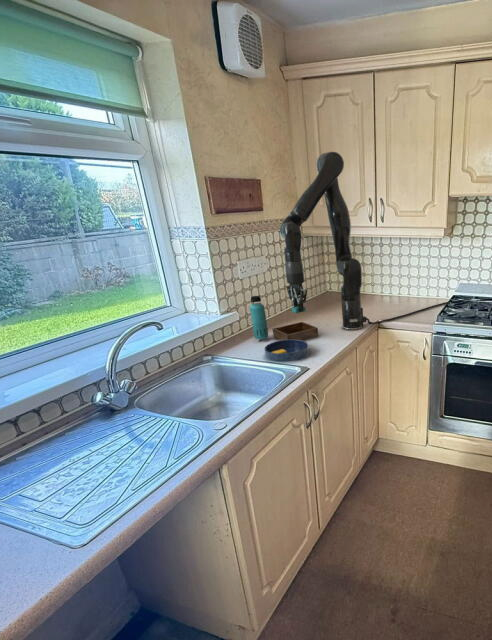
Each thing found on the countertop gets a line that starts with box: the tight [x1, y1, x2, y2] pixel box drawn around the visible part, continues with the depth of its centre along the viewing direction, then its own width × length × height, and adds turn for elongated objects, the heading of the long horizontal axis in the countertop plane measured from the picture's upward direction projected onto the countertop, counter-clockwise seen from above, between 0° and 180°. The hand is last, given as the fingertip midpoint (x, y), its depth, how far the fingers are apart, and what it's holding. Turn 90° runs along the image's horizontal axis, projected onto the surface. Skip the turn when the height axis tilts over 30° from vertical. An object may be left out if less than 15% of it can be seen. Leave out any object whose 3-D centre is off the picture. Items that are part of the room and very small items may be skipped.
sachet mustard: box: [272, 349, 287, 353], centre depth 164 cm, size 5×4×2 cm
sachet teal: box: [291, 305, 306, 314], centre depth 182 cm, size 5×4×2 cm
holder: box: [272, 321, 319, 341], centre depth 186 cm, size 16×14×5 cm
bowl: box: [264, 339, 310, 363], centre depth 166 cm, size 17×17×4 cm
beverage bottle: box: [249, 295, 269, 340], centre depth 180 cm, size 6×7×20 cm
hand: (298, 310), depth 182 cm, fingers closed on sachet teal, 3 cm apart
